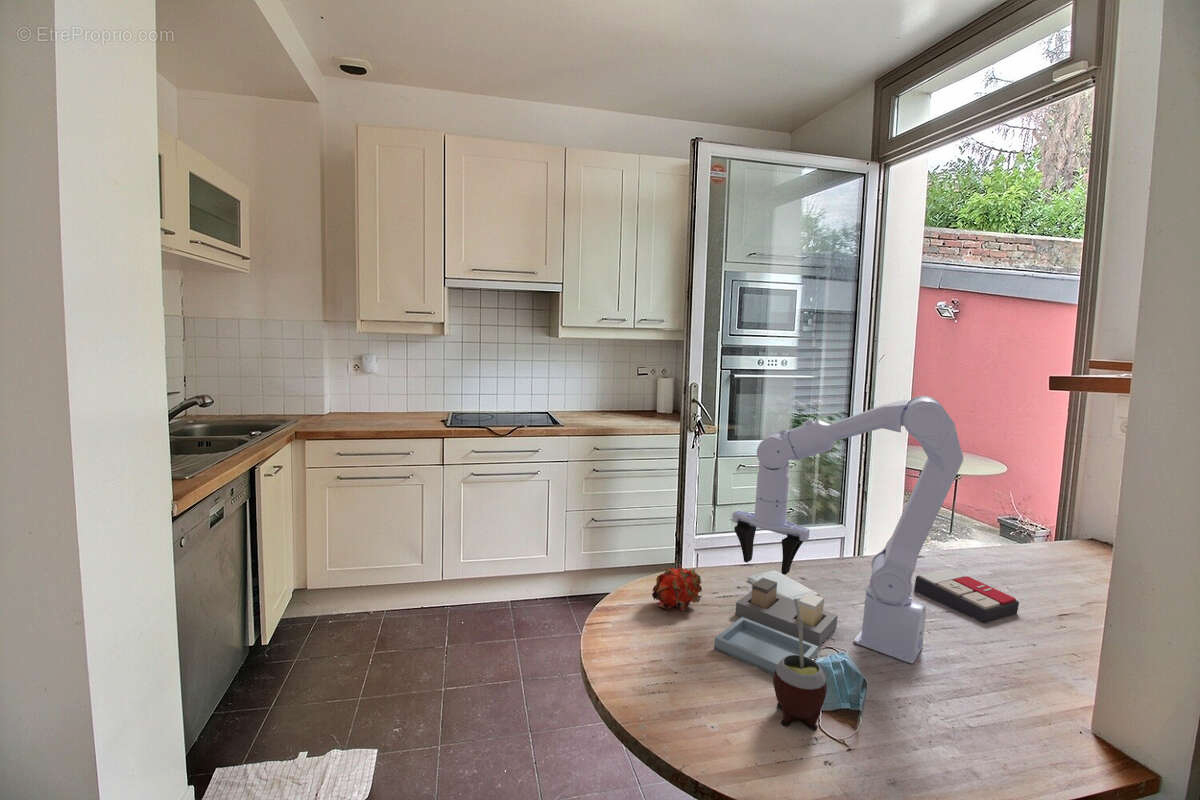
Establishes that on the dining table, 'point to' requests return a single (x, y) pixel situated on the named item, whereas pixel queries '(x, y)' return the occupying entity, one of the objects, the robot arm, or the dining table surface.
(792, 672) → the mate gourd
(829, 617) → the block
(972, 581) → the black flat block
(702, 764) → the dining table surface
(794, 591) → the hard drive
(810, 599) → the block
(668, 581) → the dragon fruit
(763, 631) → the parts tray
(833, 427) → the robot arm
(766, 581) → the block
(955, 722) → the dining table surface
